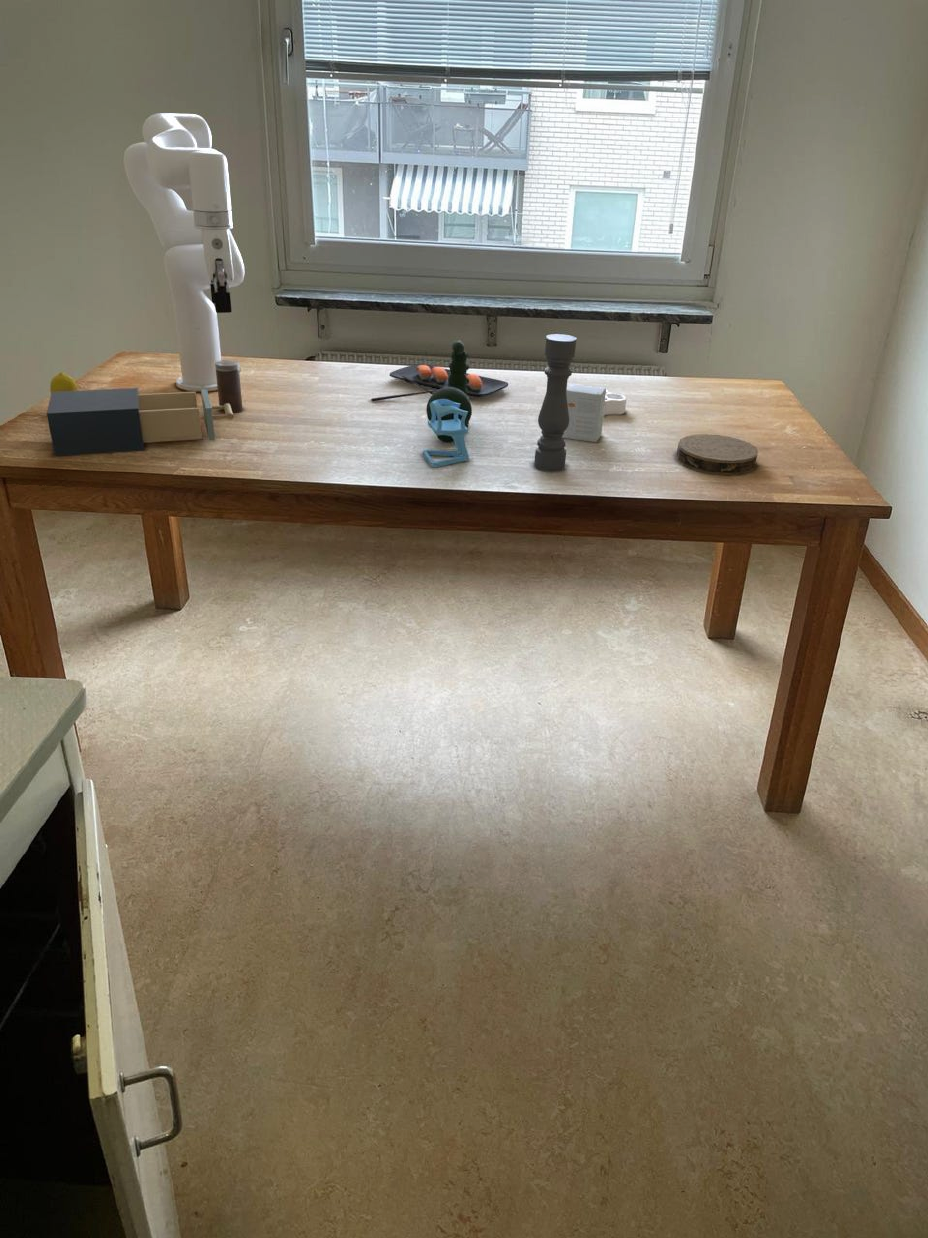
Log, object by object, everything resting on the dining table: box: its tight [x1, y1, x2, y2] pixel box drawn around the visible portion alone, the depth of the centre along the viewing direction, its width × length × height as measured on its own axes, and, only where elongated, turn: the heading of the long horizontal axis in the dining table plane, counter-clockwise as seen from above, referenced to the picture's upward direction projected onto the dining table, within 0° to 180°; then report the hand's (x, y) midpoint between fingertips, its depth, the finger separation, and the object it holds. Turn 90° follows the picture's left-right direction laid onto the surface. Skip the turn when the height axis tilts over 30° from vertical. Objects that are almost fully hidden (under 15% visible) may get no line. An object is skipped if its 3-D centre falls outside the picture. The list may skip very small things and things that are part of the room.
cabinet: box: [46, 387, 145, 457], centre depth 178 cm, size 16×14×8 cm
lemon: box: [49, 372, 79, 394], centre depth 195 cm, size 6×6×8 cm
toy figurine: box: [426, 340, 473, 444], centre depth 189 cm, size 9×19×25 cm
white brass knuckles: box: [603, 388, 627, 416], centre depth 212 cm, size 3×18×15 cm
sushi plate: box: [370, 363, 509, 402], centre depth 217 cm, size 29×30×4 cm
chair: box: [422, 399, 470, 468], centre depth 176 cm, size 8×8×12 cm
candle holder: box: [533, 333, 577, 472], centre depth 172 cm, size 6×6×25 cm
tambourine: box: [676, 433, 759, 476], centre depth 183 cm, size 16×16×3 cm
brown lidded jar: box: [215, 359, 244, 414], centre depth 198 cm, size 5×5×10 cm
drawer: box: [138, 389, 235, 444], centre depth 183 cm, size 20×13×7 cm
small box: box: [562, 383, 607, 443], centre depth 192 cm, size 8×6×10 cm
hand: (221, 307), depth 189 cm, fingers open, 9 cm apart
